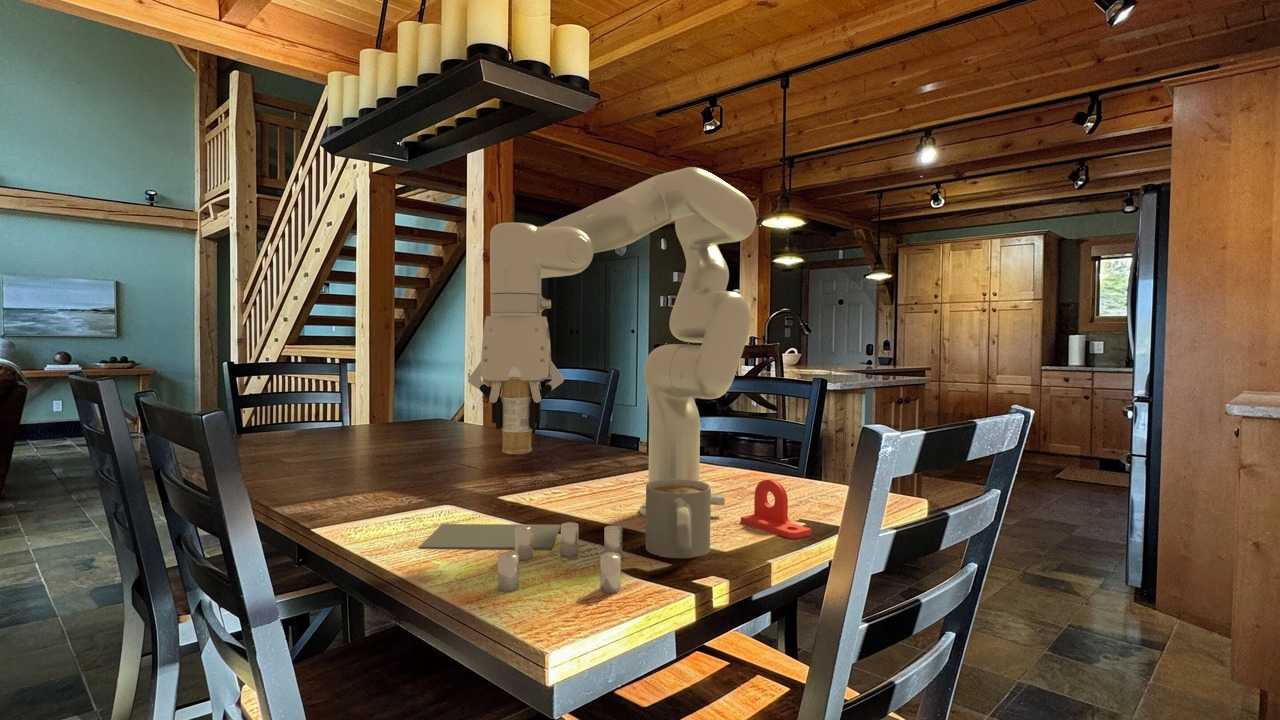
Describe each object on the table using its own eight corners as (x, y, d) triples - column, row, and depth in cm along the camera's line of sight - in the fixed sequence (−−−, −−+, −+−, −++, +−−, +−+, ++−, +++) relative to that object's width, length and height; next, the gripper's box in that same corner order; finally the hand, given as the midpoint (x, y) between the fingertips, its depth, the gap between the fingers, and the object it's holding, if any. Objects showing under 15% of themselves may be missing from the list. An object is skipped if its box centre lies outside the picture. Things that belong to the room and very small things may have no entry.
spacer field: (622, 555, 98) (622, 522, 98) (620, 598, 82) (620, 559, 82) (518, 555, 98) (518, 522, 98) (495, 598, 82) (495, 558, 82)
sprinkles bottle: (523, 448, 102) (523, 362, 102) (537, 452, 99) (537, 363, 98) (496, 451, 100) (495, 363, 99) (509, 456, 96) (509, 364, 95)
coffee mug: (650, 538, 107) (650, 477, 107) (711, 541, 105) (712, 480, 105) (637, 566, 94) (637, 497, 93) (706, 571, 92) (707, 500, 92)
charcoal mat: (560, 529, 111) (560, 524, 111) (551, 552, 99) (551, 547, 99) (442, 528, 111) (442, 524, 111) (419, 552, 99) (419, 546, 99)
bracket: (740, 523, 116) (741, 478, 116) (758, 519, 119) (759, 476, 119) (793, 540, 107) (794, 492, 106) (811, 535, 109) (812, 488, 109)
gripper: (573, 308, 102) (573, 424, 103) (464, 307, 102) (465, 424, 102) (570, 306, 95) (571, 431, 96) (453, 305, 94) (454, 432, 95)
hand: (516, 426), depth 99 cm, fingers closed on sprinkles bottle, 4 cm apart
